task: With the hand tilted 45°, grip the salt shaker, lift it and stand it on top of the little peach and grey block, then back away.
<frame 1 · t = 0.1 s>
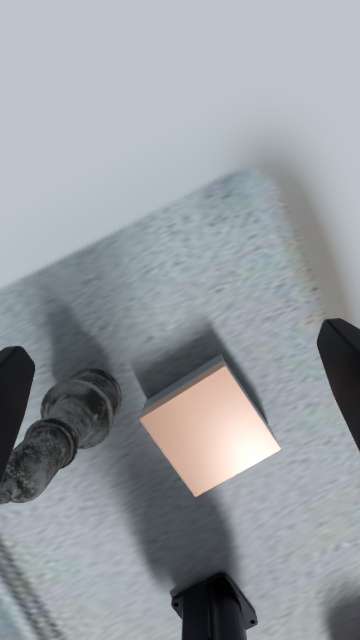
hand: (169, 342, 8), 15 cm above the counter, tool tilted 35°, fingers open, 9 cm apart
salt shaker: (94, 395, 25), on the counter
peach and grey block: (207, 412, 24), on the counter
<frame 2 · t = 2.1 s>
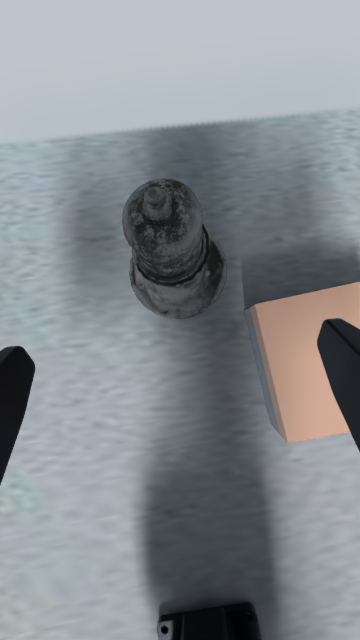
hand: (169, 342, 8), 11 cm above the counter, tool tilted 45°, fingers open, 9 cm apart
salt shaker: (181, 283, 20), on the counter
peach and grey block: (314, 354, 18), on the counter
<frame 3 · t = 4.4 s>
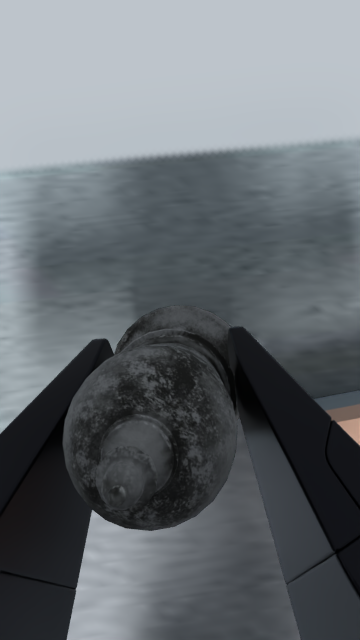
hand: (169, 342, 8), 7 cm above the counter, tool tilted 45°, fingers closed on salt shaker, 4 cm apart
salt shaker: (184, 366, 15), on the counter, touching gripper
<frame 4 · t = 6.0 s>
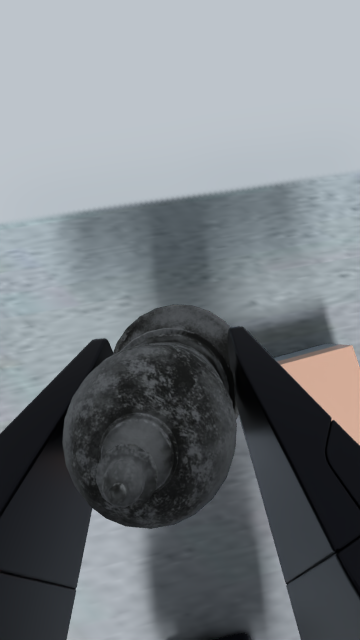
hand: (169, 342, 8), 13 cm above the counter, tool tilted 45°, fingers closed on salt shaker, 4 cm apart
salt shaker: (183, 365, 15), point 6 cm above the counter, touching gripper
peach and grey block: (290, 407, 20), on the counter
when the fingers open (11 cm above the counter, at t = 7.8 s): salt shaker drops 1 cm, resting on peach and grey block.
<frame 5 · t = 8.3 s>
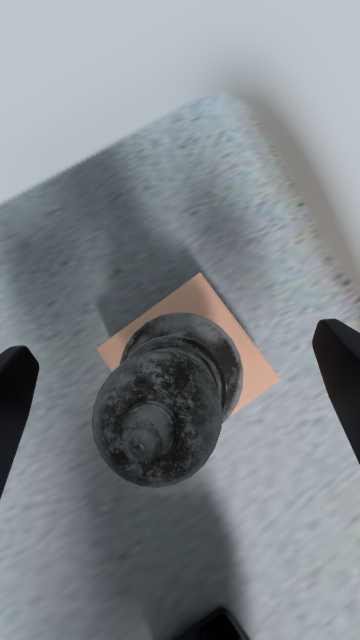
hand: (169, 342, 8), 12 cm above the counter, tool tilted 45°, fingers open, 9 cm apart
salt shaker: (184, 366, 16), point 3 cm above the counter, touching peach and grey block
peach and grey block: (188, 359, 19), on the counter
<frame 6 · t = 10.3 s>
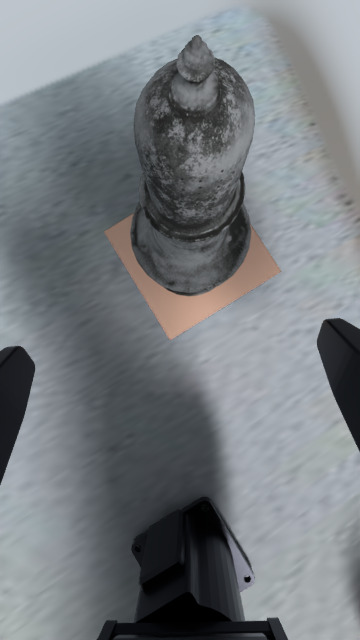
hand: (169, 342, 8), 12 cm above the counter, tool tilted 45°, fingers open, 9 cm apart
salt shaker: (189, 254, 16), point 3 cm above the counter, touching peach and grey block
peach and grey block: (190, 265, 20), on the counter
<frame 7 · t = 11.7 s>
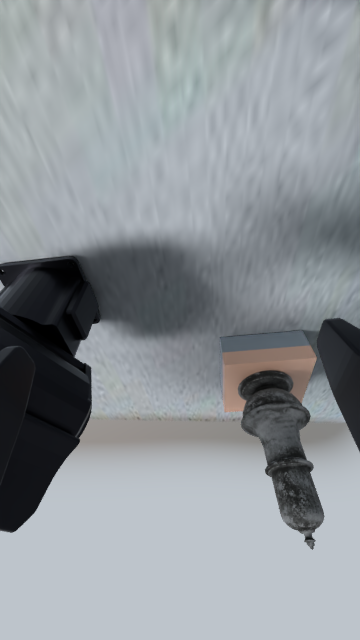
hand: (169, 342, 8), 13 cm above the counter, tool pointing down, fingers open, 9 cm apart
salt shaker: (264, 385, 26), point 3 cm above the counter, touching peach and grey block
peach and grey block: (257, 360, 28), on the counter
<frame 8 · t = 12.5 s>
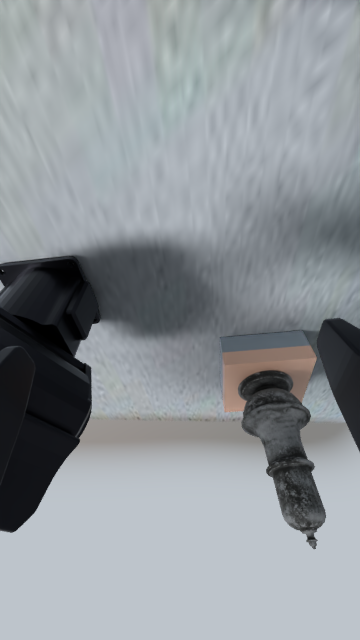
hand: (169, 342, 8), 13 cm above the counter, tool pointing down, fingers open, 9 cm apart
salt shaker: (264, 385, 26), point 3 cm above the counter, touching peach and grey block
peach and grey block: (257, 360, 28), on the counter
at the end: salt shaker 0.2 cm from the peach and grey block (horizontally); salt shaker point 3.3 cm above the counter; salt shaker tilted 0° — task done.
